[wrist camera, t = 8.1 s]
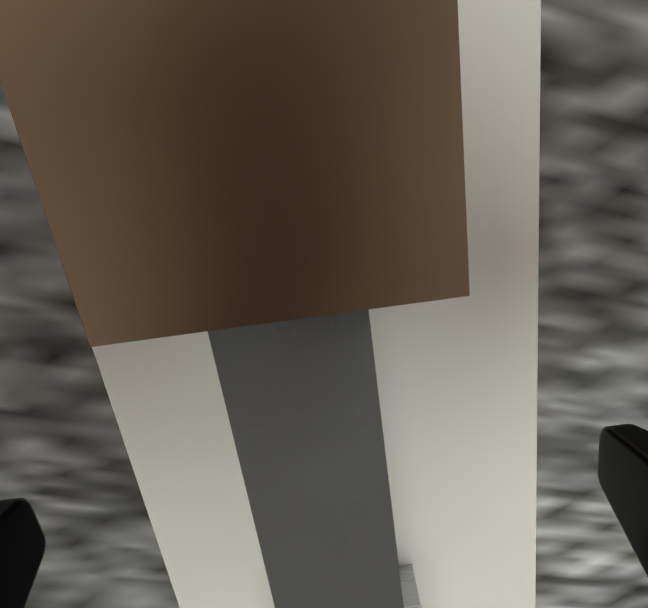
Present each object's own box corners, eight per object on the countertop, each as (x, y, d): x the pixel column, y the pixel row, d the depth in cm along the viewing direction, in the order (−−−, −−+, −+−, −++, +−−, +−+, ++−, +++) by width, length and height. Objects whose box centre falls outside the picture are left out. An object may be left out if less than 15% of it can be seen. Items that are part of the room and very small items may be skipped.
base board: (238, 760, 24) (236, 775, 24) (-7, 15, 13) (-21, 11, 13) (528, 731, 24) (533, 745, 23) (531, -73, 13) (541, -81, 12)
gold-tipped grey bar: (315, 669, 17) (315, 783, 14) (203, 152, 11) (162, 166, 8) (407, 659, 17) (425, 772, 14) (342, 132, 11) (351, 137, 8)
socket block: (195, 240, 15) (90, 346, 8) (150, 52, 13) (-33, -16, 6) (399, 211, 14) (469, 296, 8) (382, 16, 13) (453, -97, 6)
